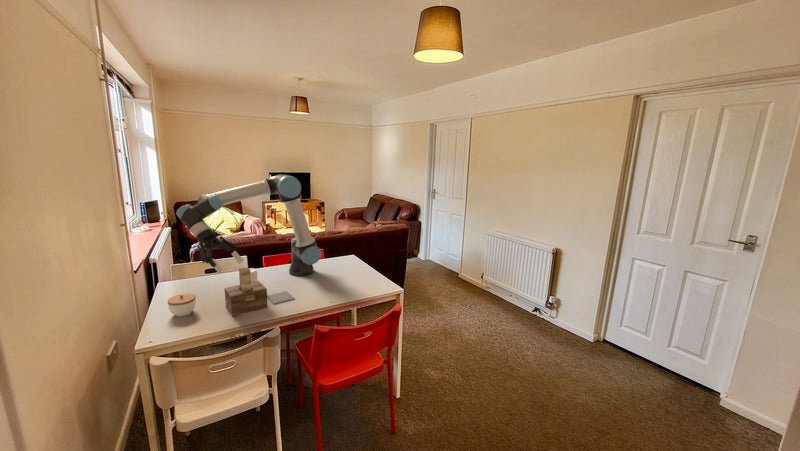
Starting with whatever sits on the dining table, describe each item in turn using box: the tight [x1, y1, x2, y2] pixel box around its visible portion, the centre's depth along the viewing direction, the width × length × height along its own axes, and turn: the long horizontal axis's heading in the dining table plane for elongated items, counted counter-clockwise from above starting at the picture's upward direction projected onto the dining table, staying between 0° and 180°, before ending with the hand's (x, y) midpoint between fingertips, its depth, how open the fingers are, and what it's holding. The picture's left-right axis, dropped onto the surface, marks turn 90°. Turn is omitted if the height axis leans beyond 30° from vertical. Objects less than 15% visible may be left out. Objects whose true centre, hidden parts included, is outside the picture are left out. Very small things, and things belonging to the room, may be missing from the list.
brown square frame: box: [223, 280, 268, 317], centre depth 157 cm, size 13×16×10 cm
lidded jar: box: [167, 293, 197, 318], centre depth 149 cm, size 11×11×9 cm
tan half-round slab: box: [248, 267, 259, 283], centre depth 176 cm, size 8×8×12 cm
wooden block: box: [238, 266, 251, 292], centre depth 156 cm, size 4×4×14 cm
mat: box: [267, 290, 295, 305], centre depth 170 cm, size 11×11×1 cm
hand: (231, 266), depth 155 cm, fingers open, 13 cm apart
